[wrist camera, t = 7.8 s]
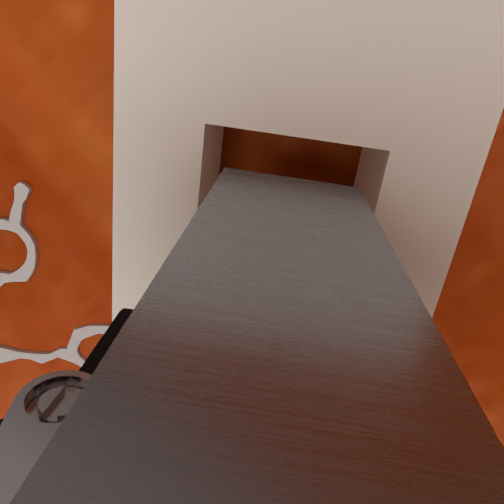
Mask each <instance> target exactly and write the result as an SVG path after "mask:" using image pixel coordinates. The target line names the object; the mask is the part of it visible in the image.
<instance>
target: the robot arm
mask: <svg viewBox="0 0 504 504" xmlns="http://www.w3.org/2000/svg"><path fill="white" fill-rule="evenodd" d="M133 310H134V309H128V308H123V309H122V310H121V311H120V312H119V313H118V315H117V316H116V317H115V319H114V320H113V322H112V323H111V325H110V326H109V328H108V329H107V330H106V332H105V333H104V335H103V336H102V338H101V339H100V341H99V342H98V344H97V345H96V346H95V348H94V349H93V351H92V352H91V354H90V355H89V357H88V358H87V359H86V361H85V362H84V364H83V365H82V367H81V368H80V370H79V371H75V370H65V371H56V372H52V373H48V374H45V375H42V376H40V377H38V378H36V379H34V380H32V381H31V382H29V383H28V384H27V385H25V386H24V387H23V388H22V389H21V390H20V391H19V393H18V394H17V395H16V397H15V399H14V400H13V402H12V404H11V406H10V408H9V410H8V412H7V414H6V415H5V417H4V418H3V419H1V420H0V504H10V502H11V501H12V499H13V498H14V496H15V494H16V493H17V491H18V490H19V488H20V487H21V485H22V483H23V482H24V480H25V479H26V477H27V476H28V474H29V473H30V471H31V469H32V468H33V466H34V465H35V463H36V462H37V460H38V458H39V457H40V455H41V454H42V452H43V451H44V449H45V448H46V446H47V444H48V443H49V441H50V440H51V438H52V437H53V435H54V433H55V432H56V430H57V429H58V427H59V426H60V424H61V422H62V421H63V419H64V418H65V416H66V415H67V413H68V412H69V410H70V408H71V407H72V405H73V404H74V402H75V401H76V399H77V397H78V396H79V394H80V393H81V391H82V390H83V388H84V387H85V385H86V383H87V382H88V380H89V379H90V377H91V376H92V374H93V372H94V371H95V369H96V368H97V366H98V365H99V363H100V361H101V360H102V358H103V357H104V355H105V354H106V352H107V351H108V349H109V347H110V346H111V344H112V343H113V341H114V340H115V338H116V336H117V335H118V333H119V332H120V330H121V329H122V327H123V326H124V324H125V322H126V321H127V319H128V318H129V316H130V315H131V313H132V311H133ZM503 448H504V446H503Z"/></svg>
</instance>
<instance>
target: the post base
mask: <svg viewBox="0 0 504 504" xmlns="http://www.w3.org/2000/svg"><path fill="white" fill-rule="evenodd" d="M503 108H504V0H115V7H114V134H113V262H112V322H113V320H114V319H115V317H116V316H117V315H118V313H119V312H120V311H121V310H122V309H123V308H128V309H134V308H135V307H136V305H137V304H138V302H139V300H140V299H141V297H142V296H143V294H144V293H145V291H146V290H147V288H148V286H149V285H150V283H151V282H152V280H153V279H154V277H155V275H156V274H157V272H158V271H159V269H160V268H161V266H162V265H163V263H164V261H165V260H166V258H167V257H168V255H169V254H170V252H171V250H172V249H173V247H174V246H175V244H176V243H177V241H178V239H179V238H180V236H181V235H182V233H183V232H184V230H185V229H186V227H187V225H188V224H189V222H190V221H191V219H192V218H193V216H194V214H195V213H196V211H197V210H198V208H199V207H200V205H201V204H202V202H203V200H204V199H205V197H206V196H207V194H208V193H209V191H210V189H211V188H212V186H213V185H214V183H215V182H216V180H217V178H218V177H219V171H220V162H221V152H222V143H223V133H224V127H231V128H238V129H245V130H252V131H258V132H265V133H272V134H279V135H286V136H292V137H299V138H306V139H313V140H320V141H326V142H333V143H340V144H347V145H354V146H360V147H362V150H361V155H360V159H359V163H358V168H357V172H356V177H355V181H354V185H353V186H354V187H359V188H360V189H361V191H362V193H363V195H364V197H365V198H366V200H367V202H368V204H369V206H370V208H371V209H372V211H373V213H374V215H375V217H376V218H377V220H378V222H379V224H380V226H381V227H382V229H383V231H384V233H385V235H386V236H387V238H388V240H389V242H390V244H391V245H392V247H393V249H394V251H395V253H396V254H397V256H398V258H399V260H400V262H401V264H402V265H403V267H404V269H405V271H406V273H407V274H408V276H409V278H410V280H411V282H412V283H413V285H414V287H415V289H416V291H417V292H418V294H419V296H420V298H421V300H422V301H423V303H424V305H425V307H426V309H427V310H428V312H429V314H430V316H431V318H432V317H433V314H434V311H435V308H436V305H437V302H438V299H439V297H440V294H441V291H442V288H443V285H444V282H445V279H446V276H447V273H448V270H449V267H450V264H451V261H452V258H453V255H454V252H455V249H456V247H457V244H458V241H459V238H460V235H461V232H462V229H463V226H464V223H465V220H466V217H467V214H468V211H469V208H470V205H471V202H472V199H473V197H474V194H475V191H476V188H477V185H478V182H479V179H480V176H481V173H482V170H483V167H484V164H485V161H486V158H487V155H488V152H489V149H490V147H491V144H492V141H493V138H494V135H495V132H496V129H497V126H498V123H499V120H500V117H501V114H502V111H503Z"/></svg>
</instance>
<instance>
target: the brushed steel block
mask: <svg viewBox="0 0 504 504" xmlns="http://www.w3.org/2000/svg"><path fill="white" fill-rule="evenodd" d="M10 504H504V448H503V446H502V444H501V442H500V440H499V439H498V437H497V435H496V433H495V431H494V430H493V428H492V426H491V424H490V422H489V421H488V419H487V417H486V415H485V413H484V412H483V410H482V408H481V406H480V404H479V403H478V401H477V399H476V397H475V395H474V394H473V392H472V390H471V388H470V386H469V385H468V383H467V381H466V379H465V377H464V375H463V374H462V372H461V370H460V368H459V366H458V365H457V363H456V361H455V359H454V357H453V356H452V354H451V352H450V350H449V348H448V347H447V345H446V343H445V341H444V339H443V338H442V336H441V334H440V332H439V330H438V329H437V327H436V325H435V323H434V321H433V319H432V318H431V316H430V314H429V312H428V310H427V309H426V307H425V305H424V303H423V301H422V300H421V298H420V296H419V294H418V292H417V291H416V289H415V287H414V285H413V283H412V282H411V280H410V278H409V276H408V274H407V273H406V271H405V269H404V267H403V265H402V264H401V262H400V260H399V258H398V256H397V254H396V253H395V251H394V249H393V247H392V245H391V244H390V242H389V240H388V238H387V236H386V235H385V233H384V231H383V229H382V227H381V226H380V224H379V222H378V220H377V218H376V217H375V215H374V213H373V211H372V209H371V208H370V206H369V204H368V202H367V200H366V198H365V197H364V195H363V193H362V191H361V189H360V188H359V187H354V186H347V185H340V184H334V183H327V182H320V181H314V180H307V179H300V178H293V177H287V176H280V175H273V174H267V173H260V172H253V171H247V170H240V169H233V168H227V167H225V168H224V169H223V171H222V172H221V174H220V175H219V177H218V178H217V180H216V182H215V183H214V185H213V186H212V188H211V189H210V191H209V193H208V194H207V196H206V197H205V199H204V200H203V202H202V204H201V205H200V207H199V208H198V210H197V211H196V213H195V214H194V216H193V218H192V219H191V221H190V222H189V224H188V225H187V227H186V229H185V230H184V232H183V233H182V235H181V236H180V238H179V239H178V241H177V243H176V244H175V246H174V247H173V249H172V250H171V252H170V254H169V255H168V257H167V258H166V260H165V261H164V263H163V265H162V266H161V268H160V269H159V271H158V272H157V274H156V275H155V277H154V279H153V280H152V282H151V283H150V285H149V286H148V288H147V290H146V291H145V293H144V294H143V296H142V297H141V299H140V300H139V302H138V304H137V305H136V307H135V308H134V310H133V311H132V313H131V315H130V316H129V318H128V319H127V321H126V322H125V324H124V326H123V327H122V329H121V330H120V332H119V333H118V335H117V336H116V338H115V340H114V341H113V343H112V344H111V346H110V347H109V349H108V351H107V352H106V354H105V355H104V357H103V358H102V360H101V361H100V363H99V365H98V366H97V368H96V369H95V371H94V372H93V374H92V376H91V377H90V379H89V380H88V382H87V383H86V385H85V387H84V388H83V390H82V391H81V393H80V394H79V396H78V397H77V399H76V401H75V402H74V404H73V405H72V407H71V408H70V410H69V412H68V413H67V415H66V416H65V418H64V419H63V421H62V422H61V424H60V426H59V427H58V429H57V430H56V432H55V433H54V435H53V437H52V438H51V440H50V441H49V443H48V444H47V446H46V448H45V449H44V451H43V452H42V454H41V455H40V457H39V458H38V460H37V462H36V463H35V465H34V466H33V468H32V469H31V471H30V473H29V474H28V476H27V477H26V479H25V480H24V482H23V483H22V485H21V487H20V488H19V490H18V491H17V493H16V494H15V496H14V498H13V499H12V501H11V502H10Z"/></svg>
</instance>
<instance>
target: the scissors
mask: <svg viewBox="0 0 504 504" xmlns="http://www.w3.org/2000/svg"><path fill="white" fill-rule="evenodd" d="M31 190H32V187H31V186H30V185H29V184H28V183H26V182H23V181H21V182H19V183H18V184H17V185H16V186H15V187H14V194H15V197H14V203H13V206H12V209H11V212H10V218H5V217H3V218H0V229H3V230H10V231H12V232H14V233H17V234H18V235H19V236H20V237H21V239H22V240H23V241H24V242H25V244H26V247H27V250H28V251H27V259H26V261H25V263H24V264H23V265H22V266H21V267H20V268H19V269H17V270H16V271H14V272H11V271H2V270H0V287H1V286H2V285H3V284H4V283H7V282H27V281H28V280H29V279H30V278H31V276H32V275H33V273H34V271H35V270H36V267H37V263H38V246H37V242H36V240H35V238H34V236H33V234H32V233H31V232H30V231H29V230H28V228H27V227H26V226H25V225H24V224H23V217H24V210H25V203H26V200H27V199H28V198H29V196H30V193H31ZM109 326H110V325H109V324H88V325H84V326H81V327H77V328H75V329H74V331H73V334H72V336H71V339H70V341H69V344H68V347H60V348H58V349H56V350H54V351H52V352H39V351H28V350H21V349H16V348H13V347H9V346H3V345H0V363H2V362H7V361H12V360H15V359H19V358H23V359H31V360H33V361H36V362H39V363H41V364H42V363H44V362H47V361H49V360H52V359H55V358H57V357H59V358H61V359H64V360H67V361H69V362H72V363H75V364H77V365H78V366H80V367H82V365H83V364H84V362H85V361H86V358H85V357H84V356H83V355H81V354H80V351H79V348H78V347H79V345H80V343H81V341H82V340H83V339H85V338H87V337H90V336H93V335H96V334H104V333H105V332H106V330H107V329H108V328H109Z"/></svg>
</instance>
